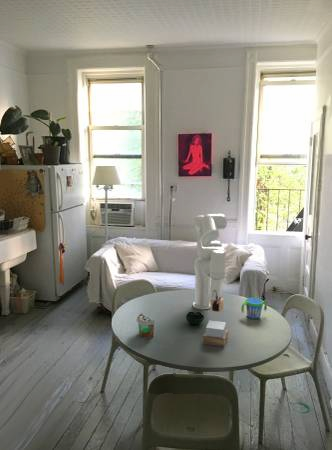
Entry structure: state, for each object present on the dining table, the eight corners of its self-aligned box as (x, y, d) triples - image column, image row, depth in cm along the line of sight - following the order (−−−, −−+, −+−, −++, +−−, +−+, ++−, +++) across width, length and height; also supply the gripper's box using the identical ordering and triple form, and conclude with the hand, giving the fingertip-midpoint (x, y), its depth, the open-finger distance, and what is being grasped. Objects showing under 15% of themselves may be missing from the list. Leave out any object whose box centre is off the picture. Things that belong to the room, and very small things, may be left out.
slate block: (209, 328, 207) (209, 320, 207) (225, 330, 205) (226, 322, 204) (205, 335, 199) (205, 327, 198) (223, 338, 196) (223, 329, 196)
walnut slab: (207, 334, 210) (207, 326, 209) (227, 337, 207) (228, 329, 206) (203, 343, 200) (203, 335, 199) (224, 347, 196) (224, 338, 195)
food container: (132, 332, 211) (132, 315, 209) (142, 329, 215) (141, 312, 213) (145, 341, 202) (144, 323, 200) (154, 338, 205) (154, 320, 203)
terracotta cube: (212, 307, 202) (212, 297, 201) (223, 308, 201) (223, 298, 200) (210, 311, 197) (210, 300, 196) (220, 312, 195) (221, 302, 194)
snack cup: (262, 312, 238) (263, 296, 236) (269, 319, 228) (270, 303, 226) (238, 313, 236) (238, 298, 234) (244, 321, 226) (244, 304, 224)
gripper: (213, 269, 205) (213, 301, 208) (206, 278, 189) (205, 314, 192) (228, 270, 202) (227, 303, 206) (221, 280, 186) (220, 316, 190)
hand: (216, 308), depth 199 cm, fingers closed on terracotta cube, 5 cm apart
